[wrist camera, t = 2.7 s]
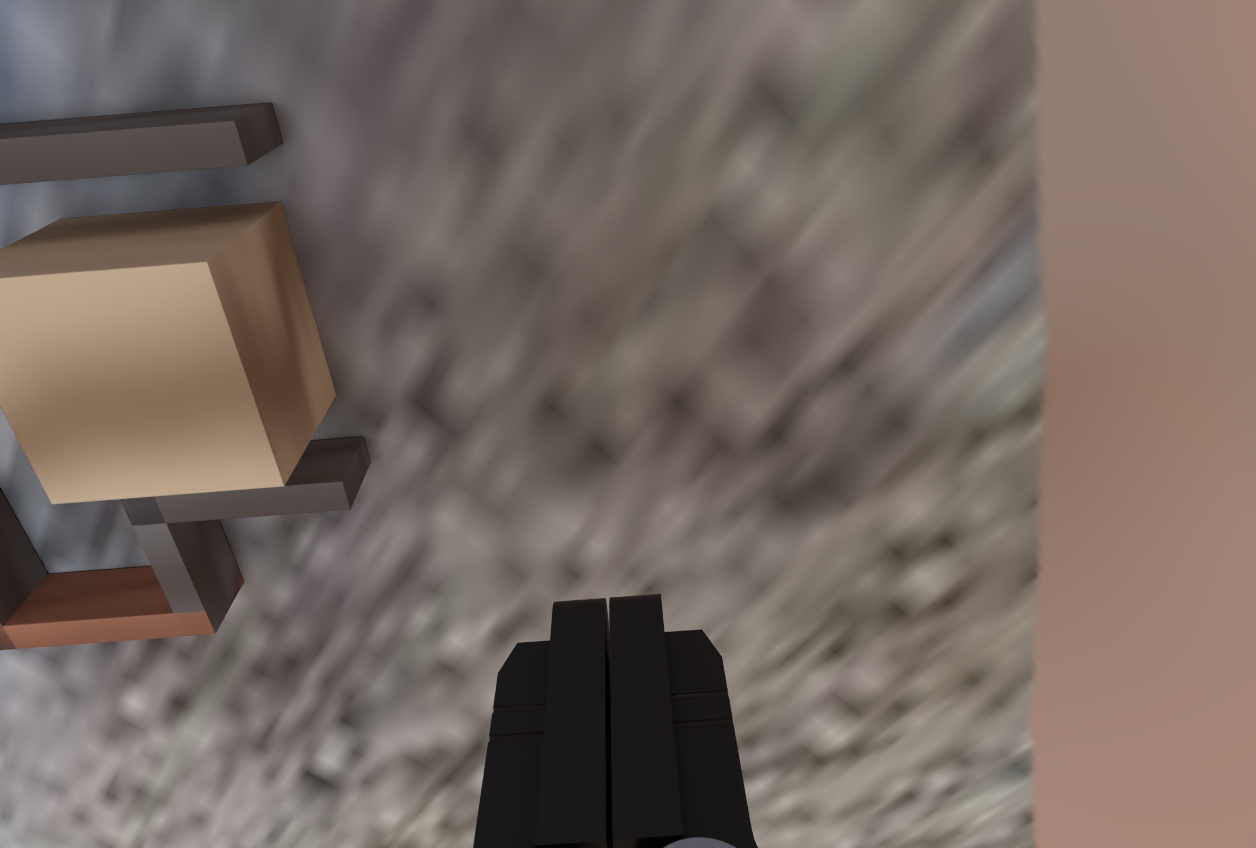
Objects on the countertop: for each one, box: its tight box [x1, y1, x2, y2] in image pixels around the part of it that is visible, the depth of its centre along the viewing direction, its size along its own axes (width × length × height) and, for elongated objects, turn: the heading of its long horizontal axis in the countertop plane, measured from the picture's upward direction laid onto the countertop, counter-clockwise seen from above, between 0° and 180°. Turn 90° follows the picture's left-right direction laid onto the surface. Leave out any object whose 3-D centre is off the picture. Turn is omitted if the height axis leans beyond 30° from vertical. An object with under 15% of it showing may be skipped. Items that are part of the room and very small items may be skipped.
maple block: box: [0, 201, 336, 504], centre depth 22 cm, size 6×6×5 cm
